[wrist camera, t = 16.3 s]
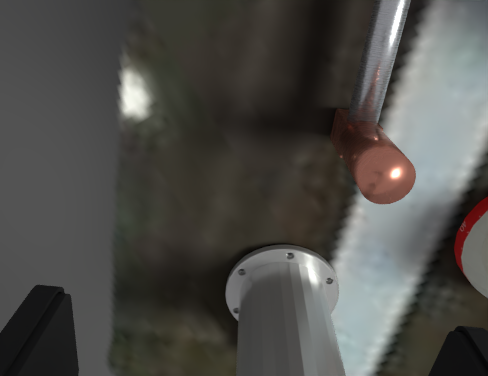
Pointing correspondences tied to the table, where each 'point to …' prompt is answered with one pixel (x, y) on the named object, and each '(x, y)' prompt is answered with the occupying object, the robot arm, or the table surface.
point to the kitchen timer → (474, 247)
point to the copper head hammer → (375, 113)
